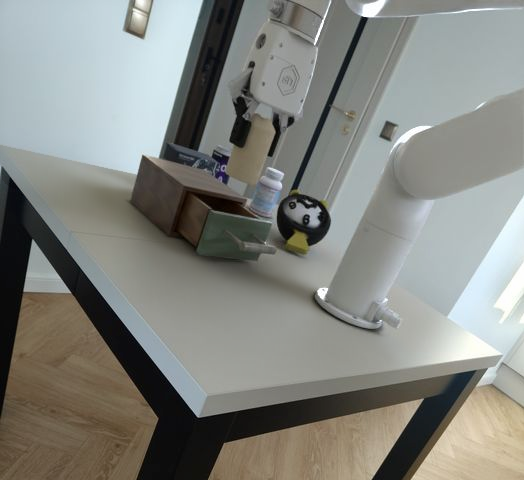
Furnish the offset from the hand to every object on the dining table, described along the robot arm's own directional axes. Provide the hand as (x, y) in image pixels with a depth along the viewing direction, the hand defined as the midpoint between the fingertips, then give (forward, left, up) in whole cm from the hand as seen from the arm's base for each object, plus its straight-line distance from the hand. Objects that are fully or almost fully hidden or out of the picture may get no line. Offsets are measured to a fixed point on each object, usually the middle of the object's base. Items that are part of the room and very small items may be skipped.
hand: (251, 148), depth 81 cm
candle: (0, 0, -5) cm, 5 cm away
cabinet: (+13, -6, -19) cm, 23 cm away
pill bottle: (+17, -44, -19) cm, 51 cm away
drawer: (+1, -1, -18) cm, 18 cm away
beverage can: (+27, -35, -19) cm, 48 cm away
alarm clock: (0, -32, -19) cm, 37 cm away
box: (+25, -20, -19) cm, 37 cm away
